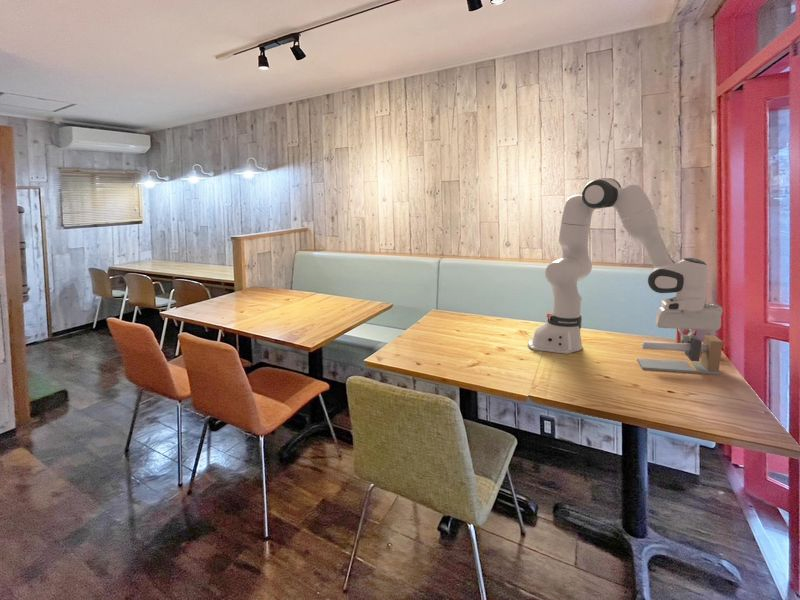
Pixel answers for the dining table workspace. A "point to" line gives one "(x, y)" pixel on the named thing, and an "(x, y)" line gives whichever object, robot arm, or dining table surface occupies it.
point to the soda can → (686, 332)
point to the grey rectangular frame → (694, 348)
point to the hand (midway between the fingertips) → (685, 340)
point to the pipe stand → (707, 366)
